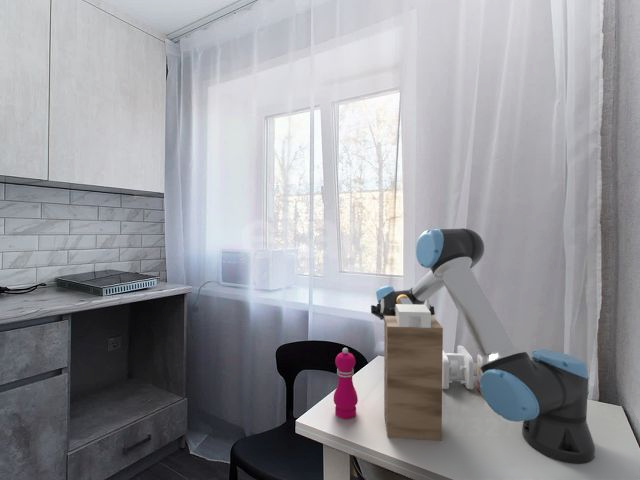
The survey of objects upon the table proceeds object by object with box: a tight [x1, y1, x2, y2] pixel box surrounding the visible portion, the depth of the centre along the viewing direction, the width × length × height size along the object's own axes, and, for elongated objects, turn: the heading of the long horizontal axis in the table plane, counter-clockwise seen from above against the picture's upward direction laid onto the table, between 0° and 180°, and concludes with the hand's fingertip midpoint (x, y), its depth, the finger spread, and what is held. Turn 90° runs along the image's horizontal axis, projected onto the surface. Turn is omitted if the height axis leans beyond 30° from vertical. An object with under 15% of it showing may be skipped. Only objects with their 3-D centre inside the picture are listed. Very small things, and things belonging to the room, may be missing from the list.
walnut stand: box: [383, 316, 444, 441], centre depth 92 cm, size 10×14×30 cm
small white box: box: [396, 294, 432, 328], centre depth 97 cm, size 23×8×4 cm, turn 174°
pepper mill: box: [333, 347, 359, 420], centre depth 99 cm, size 7×7×20 cm
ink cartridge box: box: [476, 353, 484, 399], centre depth 109 cm, size 9×5×15 cm, turn 171°
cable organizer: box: [442, 345, 475, 390], centre depth 117 cm, size 15×11×12 cm
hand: (405, 303), depth 101 cm, fingers open, 13 cm apart
